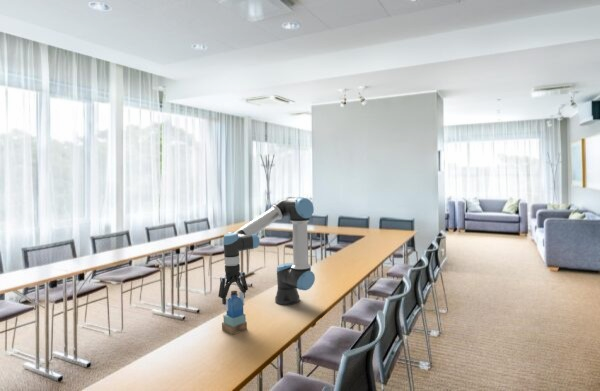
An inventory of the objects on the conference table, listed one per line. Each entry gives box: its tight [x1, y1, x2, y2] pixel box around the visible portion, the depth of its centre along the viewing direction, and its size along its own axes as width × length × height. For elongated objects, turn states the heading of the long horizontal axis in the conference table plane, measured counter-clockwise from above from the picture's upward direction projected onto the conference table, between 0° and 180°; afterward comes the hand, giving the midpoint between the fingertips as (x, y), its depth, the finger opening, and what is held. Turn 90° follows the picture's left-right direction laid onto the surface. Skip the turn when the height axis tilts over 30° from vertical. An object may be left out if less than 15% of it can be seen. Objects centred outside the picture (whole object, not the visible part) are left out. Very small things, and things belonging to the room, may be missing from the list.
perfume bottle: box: [226, 290, 245, 318], centre depth 187 cm, size 6×6×12 cm
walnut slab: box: [221, 321, 248, 336], centre depth 187 cm, size 9×9×4 cm
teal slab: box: [223, 313, 247, 327], centre depth 187 cm, size 8×8×4 cm
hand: (234, 307), depth 187 cm, fingers open, 9 cm apart
